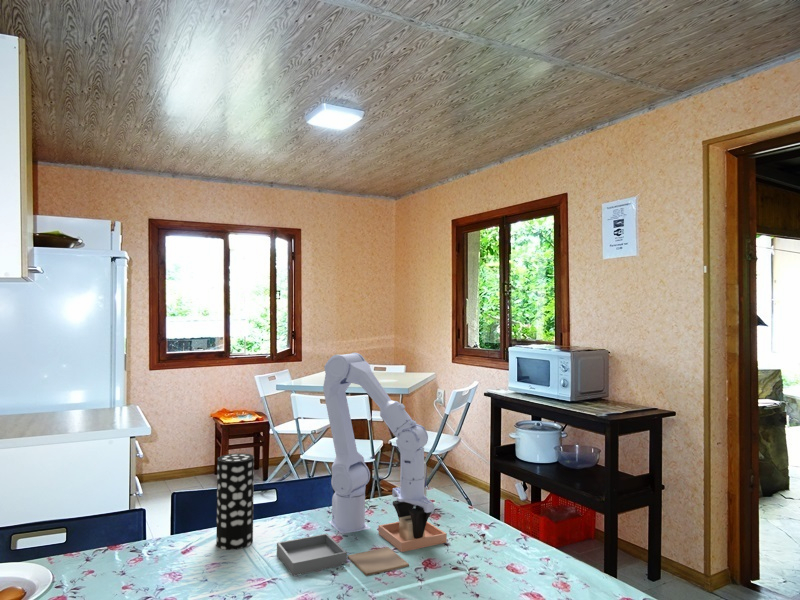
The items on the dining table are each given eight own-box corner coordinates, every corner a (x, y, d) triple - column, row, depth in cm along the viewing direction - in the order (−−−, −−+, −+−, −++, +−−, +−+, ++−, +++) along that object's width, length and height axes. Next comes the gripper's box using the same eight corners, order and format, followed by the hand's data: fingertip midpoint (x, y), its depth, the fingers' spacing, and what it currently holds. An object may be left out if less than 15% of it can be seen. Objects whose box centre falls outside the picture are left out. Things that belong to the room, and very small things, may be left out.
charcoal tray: (276, 554, 128) (276, 542, 128) (326, 544, 134) (327, 533, 134) (292, 576, 117) (293, 563, 117) (346, 564, 123) (346, 552, 123)
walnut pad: (347, 559, 125) (347, 555, 125) (387, 551, 130) (387, 546, 130) (366, 578, 116) (366, 573, 116) (408, 568, 121) (409, 563, 121)
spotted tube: (208, 546, 132) (209, 460, 133) (231, 533, 140) (232, 452, 140) (237, 552, 129) (239, 463, 130) (260, 539, 137) (261, 455, 137)
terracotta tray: (378, 536, 139) (378, 525, 139) (421, 527, 144) (421, 517, 145) (401, 554, 128) (401, 542, 128) (446, 544, 134) (446, 533, 134)
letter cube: (399, 536, 137) (399, 517, 137) (415, 533, 139) (415, 514, 140) (408, 542, 133) (408, 523, 133) (424, 539, 135) (424, 520, 136)
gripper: (382, 472, 141) (381, 527, 140) (416, 487, 129) (415, 548, 128) (405, 468, 144) (405, 522, 144) (440, 482, 132) (440, 541, 132)
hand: (411, 534), depth 136 cm, fingers closed on letter cube, 5 cm apart
